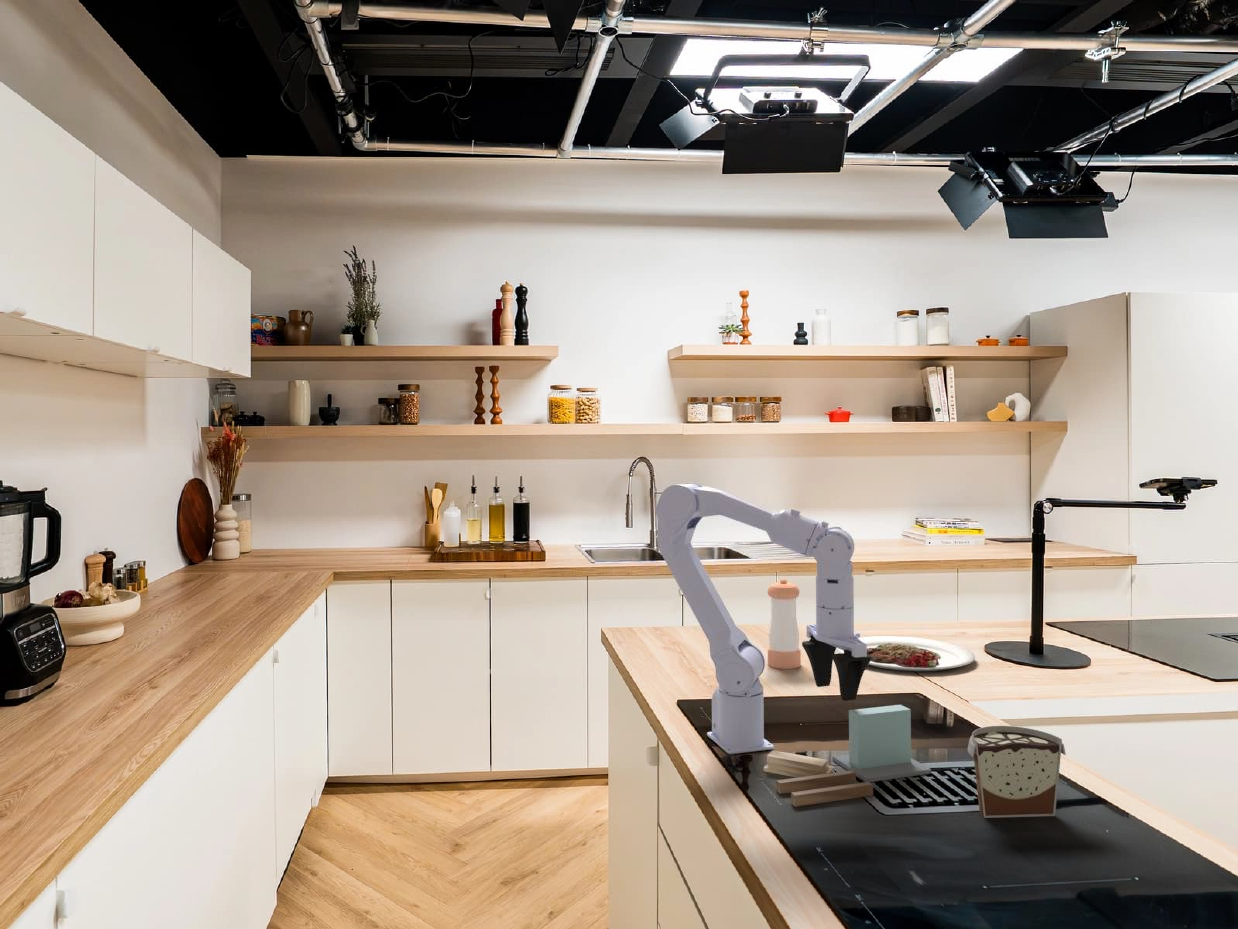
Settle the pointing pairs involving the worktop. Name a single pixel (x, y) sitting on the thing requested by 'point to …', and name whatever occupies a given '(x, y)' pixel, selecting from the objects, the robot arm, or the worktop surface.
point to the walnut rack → (824, 788)
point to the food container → (1016, 771)
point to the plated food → (914, 653)
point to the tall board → (879, 736)
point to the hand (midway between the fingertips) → (835, 692)
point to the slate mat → (883, 769)
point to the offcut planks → (796, 765)
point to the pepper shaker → (783, 626)
